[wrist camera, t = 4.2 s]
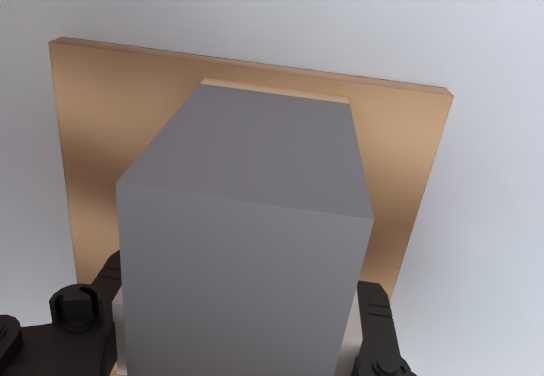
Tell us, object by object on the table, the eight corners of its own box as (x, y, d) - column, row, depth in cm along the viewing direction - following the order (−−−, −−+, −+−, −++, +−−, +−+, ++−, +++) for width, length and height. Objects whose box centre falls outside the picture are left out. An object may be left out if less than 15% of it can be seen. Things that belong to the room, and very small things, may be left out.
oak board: (62, 36, 16) (48, 42, 16) (446, 88, 16) (453, 96, 15) (105, 438, 28) (97, 454, 27) (330, 472, 28) (330, 490, 27)
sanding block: (204, 77, 16) (115, 183, 9) (347, 96, 16) (374, 220, 9) (195, 312, 21) (134, 496, 14) (302, 327, 21) (295, 521, 14)
